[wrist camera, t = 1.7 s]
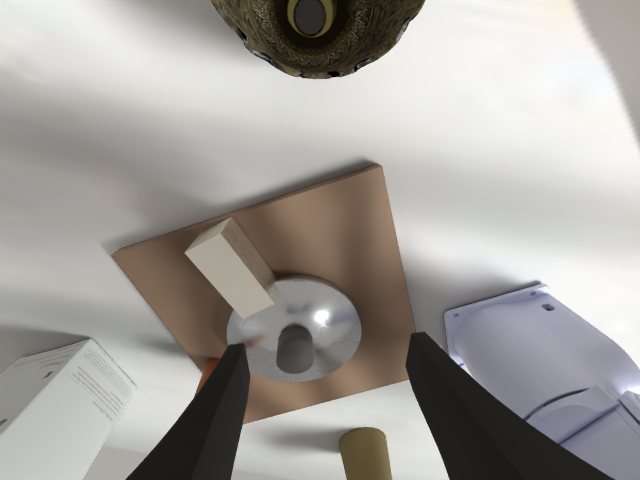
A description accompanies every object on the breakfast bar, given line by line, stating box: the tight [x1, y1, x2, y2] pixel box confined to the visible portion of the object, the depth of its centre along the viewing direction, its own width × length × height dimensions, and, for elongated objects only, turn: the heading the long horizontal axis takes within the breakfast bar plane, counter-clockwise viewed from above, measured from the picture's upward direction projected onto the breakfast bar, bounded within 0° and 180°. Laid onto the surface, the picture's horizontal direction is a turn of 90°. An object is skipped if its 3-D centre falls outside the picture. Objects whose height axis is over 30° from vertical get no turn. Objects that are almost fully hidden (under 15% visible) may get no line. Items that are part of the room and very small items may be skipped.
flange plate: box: [185, 216, 361, 382], centre depth 20 cm, size 16×11×3 cm, turn 27°
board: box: [111, 164, 416, 424], centre depth 22 cm, size 20×22×5 cm
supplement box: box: [0, 339, 137, 480], centre depth 19 cm, size 7×7×13 cm
